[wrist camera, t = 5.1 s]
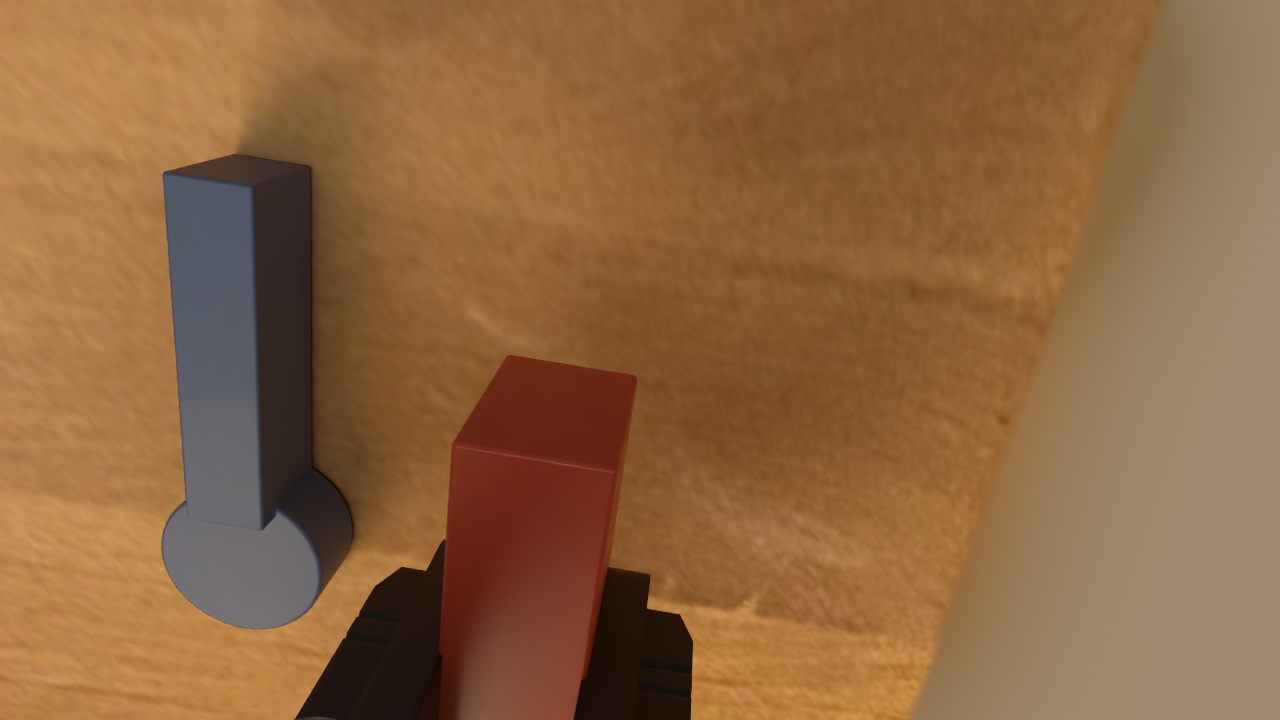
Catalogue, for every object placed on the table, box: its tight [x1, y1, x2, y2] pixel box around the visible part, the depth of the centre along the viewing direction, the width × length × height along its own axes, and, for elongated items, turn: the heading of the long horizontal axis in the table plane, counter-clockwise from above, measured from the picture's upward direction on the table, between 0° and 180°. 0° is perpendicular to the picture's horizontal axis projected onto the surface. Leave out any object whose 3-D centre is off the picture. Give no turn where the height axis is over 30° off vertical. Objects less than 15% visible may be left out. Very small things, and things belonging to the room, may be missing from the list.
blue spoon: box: [162, 154, 352, 629], centre depth 19 cm, size 12×4×3 cm, turn 172°
